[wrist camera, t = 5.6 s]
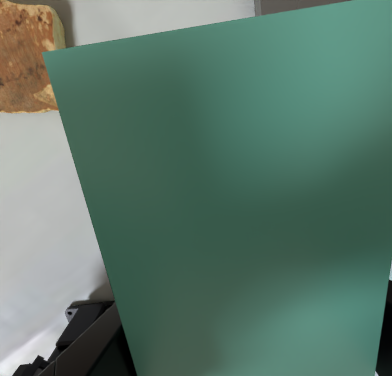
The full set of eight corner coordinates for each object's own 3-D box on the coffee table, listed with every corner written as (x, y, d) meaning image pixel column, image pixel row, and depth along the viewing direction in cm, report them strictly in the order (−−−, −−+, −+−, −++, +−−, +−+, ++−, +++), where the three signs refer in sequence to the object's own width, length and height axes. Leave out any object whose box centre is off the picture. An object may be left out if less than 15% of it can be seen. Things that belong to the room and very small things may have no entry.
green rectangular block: (304, 372, 11) (355, 502, 7) (185, 378, 12) (175, 505, 8) (310, 55, 7) (431, -13, 3) (123, 83, 8) (41, 51, 4)
